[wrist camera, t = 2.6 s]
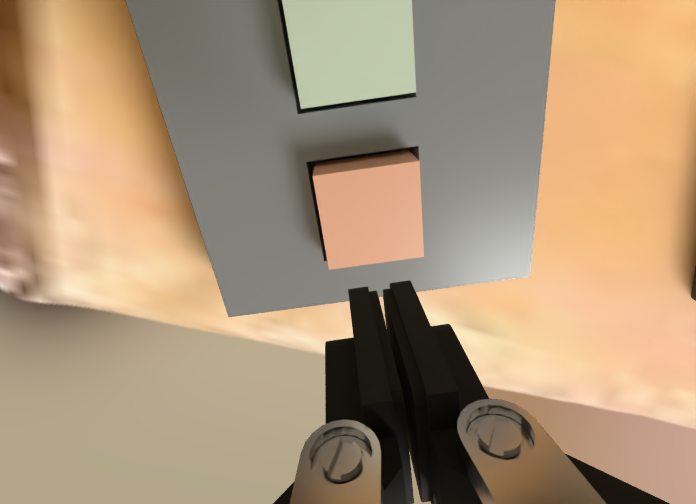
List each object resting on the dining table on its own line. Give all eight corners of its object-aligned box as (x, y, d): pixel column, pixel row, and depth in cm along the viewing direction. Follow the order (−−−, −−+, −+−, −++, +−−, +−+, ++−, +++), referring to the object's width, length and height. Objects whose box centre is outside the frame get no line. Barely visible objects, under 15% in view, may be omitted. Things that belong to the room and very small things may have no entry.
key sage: (284, -17, 15) (276, -33, 12) (396, -34, 15) (409, -53, 12) (304, 103, 17) (300, 108, 14) (404, 89, 16) (416, 92, 14)
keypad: (64, -324, 13) (-24, -454, 10) (537, -402, 12) (607, -563, 9) (242, 283, 23) (228, 317, 20) (502, 248, 23) (530, 276, 20)
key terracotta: (314, 162, 18) (312, 176, 15) (407, 149, 18) (419, 161, 15) (329, 246, 20) (329, 269, 17) (413, 235, 19) (424, 256, 17)
